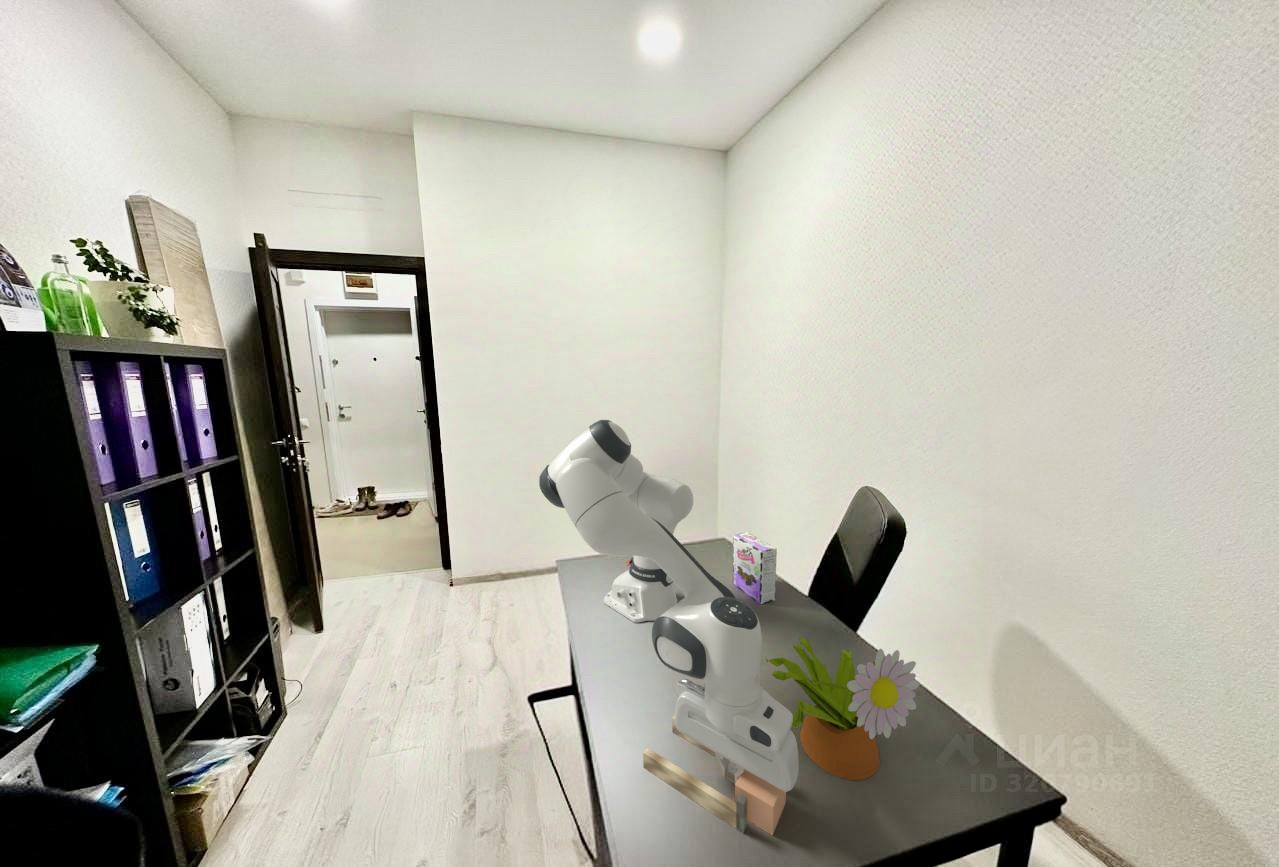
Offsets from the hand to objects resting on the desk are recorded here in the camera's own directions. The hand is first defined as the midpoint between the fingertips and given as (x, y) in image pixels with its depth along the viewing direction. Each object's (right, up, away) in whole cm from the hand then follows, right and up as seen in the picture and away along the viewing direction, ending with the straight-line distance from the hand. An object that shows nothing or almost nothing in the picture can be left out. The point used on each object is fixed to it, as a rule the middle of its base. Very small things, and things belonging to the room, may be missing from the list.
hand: (731, 777), depth 71 cm
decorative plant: (+22, -1, +10) cm, 24 cm away
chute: (-4, -2, +4) cm, 6 cm away
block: (+4, -3, -2) cm, 6 cm away
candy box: (+20, +8, +62) cm, 66 cm away
